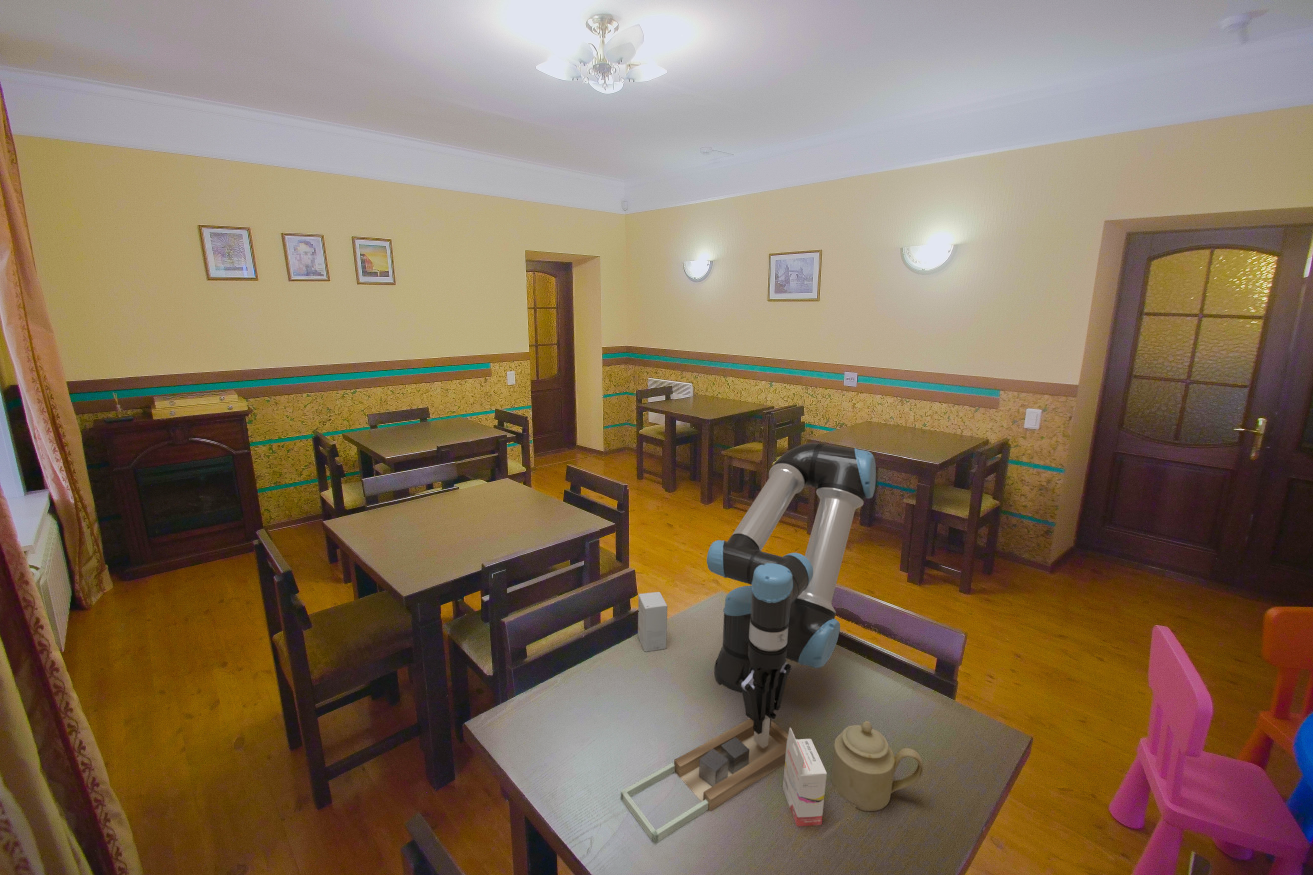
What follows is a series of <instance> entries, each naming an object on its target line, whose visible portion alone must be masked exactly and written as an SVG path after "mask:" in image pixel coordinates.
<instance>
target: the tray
mask: <svg viewBox="0 0 1313 875" xmlns="http://www.w3.org/2000/svg"><path fill="white" fill-rule="evenodd" d="M674 773H675V765H674V762H671V763H669V764H667V765H666V766H663V767H662V768H661V769H658V770H657V771H655V772H653V773H652V774H649V775H648V776H646V777H644V778H642V779H640V780H638V781H636V783H635V782H634V783H633V784H631V785H630V786H628V787H626V788H624V789H622V790H620V800H621V801H622V802H623V804H624V805H625V807H627V808H628V810H629V811H630V813H631V814H632V815H633V816H634V818H635V820H636V821H637V822H638V824H639V826H641V828H642V829H643V830H644V832H645V833H646V835H647V836H648V837H649V839H650V840H651V841H652V843H653V844H654V845H655V844H657V843H658V842H660V841H661V840H662V839H664V838H666V837H667V836H669V835H670V834H672V833H673V832H675V831H677V830H678V829H680V828H682V827H683V826H685V825H686V824H687V823H689V822H691V821H693V820H694V819H695V818H697V817H698V816H700V815H702V814H703V813H705V812H707V811H709V810H708V804H709V802H708V801H707V800H706V799H705V800H704V801H702V802H701V801H700V802H699V803H697V804H695V805H694V806H693V807H691V808H690V809H688V810H686V811H685V812H683V813H681V814H679V815H678V816H677V817H675V818H673V819H672V820H670V821H669V822H666V824H664V825H662V826H660V827H659V828H657V829H655V827H654V826H653V825H652V823H650V821H649V820H648V818H647V816H645V814H644V813H643V812H642V810H641V809H640V808H639V806H638V805H637V804H636V803H635V801H634V800H633V799H632V797H633V796H634V795H637V794H638V793H640V792H642V791H644V790H645V789H648V788H649V787H651V786H652V785H655V784H656V783H658V782H660V781H661V780H663V779H665V778H667V777H669V776H670V775H672V774H674Z"/></svg>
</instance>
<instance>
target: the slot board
mask: <svg viewBox="0 0 1313 875" xmlns="http://www.w3.org/2000/svg"><path fill="white" fill-rule="evenodd" d="M788 734H789V733H788V732H787V731H786V730H784V729H782V728H781V727H780V726H779V725H778V724H776V723H775V722H774V721H773V720H771V726H770V728H769V741H768V746H766V747H765V748H762V747H761V746H760V745H758V744H757V743H756V742H755V741H754V730H753V721H752V720H751V719H750V718H748V719H747V720H744V721H743V722H741V723H740V724H737V725H736V726H734V727H732V728H730V729H728V730H726V731H724V732H722V733H721V734H719V735H717V736H715V737H713V738H712V739H710V740H708V741H706V742H704V743H703V744H701V745H699V746H697V747H695V748H693V749H691V750H690V751H688V752H687V753H685V754H683V755H680V756H679V757H677V758H676V759H674V761H673V764H674V765H675V772H674V773H675V775H677V777H679V779H680V780H681V781H682V783H684V784H685V785H686V786H687V788H689V790H690V791H691V792H692V793H693V794H694V795H695V796H696V798H698V800H699V801H700V803H701V802H702V801H704V800H705V799H706V800H707V801H708V802H709V804H708V810H707V811H709V812H712V810H714V809H717V808H718V807H719V806H721V805H722V804H724V803H725V802H727V801H729V800H730V799H731V798H733V797H735V796H736V795H737V794H738V795H739V794H740V793H741V792H743V791H744V790H746V789H747V788H749V787H750V786H752V785H753V784H755V783H757V781H759V780H761V779H762V778H764V777H765V776H767V775H769V774H771V773H772V772H774V771H775V770H777V769H778V768H779V767H782V766H783V765H785V757H786V745H787V739H788ZM735 737H736V738H737V739H738V740H739V741H741V742H742V743H743V744H744V745H745V746H746V747H747V748H748V749H749V764H748V765H747V766H745V767H744V768H742V769H740V770H739V771H737V772H735V773H734V774H731V773H730V772H729V771H728V777H727V778H726V779H724V780H722V781H721V782H719V783H717V784H716V785H714V786H713V787H712V786H710V785H709V784H708V783H706V782H705V781H704V780H702V779H701V778H700V777H699V760H700V759H701V758H702V757H703V756H704V755H705V754H707V753H708V752H709V751H710V750H711V749H714V750H716V751H717V752H718V753H720V752H721V745H722V744H724V743H726V742H728V741H730V740H731V739H733V738H735Z"/></svg>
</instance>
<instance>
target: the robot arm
mask: <svg viewBox="0 0 1313 875" xmlns="http://www.w3.org/2000/svg"><path fill="white" fill-rule="evenodd" d="M876 465H877V464H876V458H875V456H874V455H873V453H872V452H870V451H868V450H864V449H858V448H857V447H854V448H853V447H844V446H839V445H831V444H823V443H819V442H807V443H804V444H801V445H798V446H795V447H794V448H791V449H790V450H788V451H787V452H784V454H782V455H781V456H780V457H779V458H778V459H777V460H776V461H775V462H774V463H773V464H772V466H771V468H770V469H769V472H768V479H767V481H766V482H765V484H764V486H763V487H762V489H761V490H760V491H759V492H758V495H757V496H756V497H755V499H754V500H753V502H752V504H751V505H750V507H749V508H748V509H747V511H746V513H745V515H744V516H743V518H742V519H741V520H740V521H739V524H738V525H737V527H736V528H735V529H734V530H733V533H732V535H730V537H729V538H728V540H720V539H717V540H715V541H713V542H712V543H711V544H710V547H709V549H708V552H707V555H706V564H707V569H708V570H709V571H710V572H711V573H713V574H715V575H717V576H720V577H723V578H725V579H727V578H728V579H731V580H734V581H738V582H741V583H744V584H747V585H743V586H738V587H735V588H734V589H732V590H730V591H729V592H728V593H727V594H726V597H725V601H724V607H723V628H722V631H723V632H722V646H721V648H720V650H719V653H718V655H717V657H716V661H715V663H714V670H713V672H714V673H713V675H714V679H715V681H716V682H717V683H718V685H719V686H720V685H723V687H725V688H727V689H729V690H731V691H734V692H737V693H742V698H743V705H744V710H745V716H746V717H748V719H751V720H752V721H753V730H754V741H755V742H756V743H757V744H758V745H760V746H761V747H762V748H765V747H766V746H768V741H769V728H770V726H771V721H772V720H774V719H776V717H777V714H776V713H775V711H778V710H780V708H781V704H782V700H783V696H784V693H785V689H786V685H787V679H788V676H789V674H790V672H791V670H792V665H791V664H789V663H788V662H787V660H790V661H793V662H796V663H798V664H799V665H804V666H808V667H809V668H810V667H811V668H813V669H820V668H822V667H823V666H825V665H826V664H827V663H828V661H829V660H830V658H831V657H832V655H833V652H834V651H835V648H836V645H837V642H838V638H839V636H840V635H839V634H840V630H841V623H840V621H838V619H836V618H835V617H836V614H837V611H836V610H835V608H834V607H833V605H832V601H833V597H834V595H835V594H834V592H835V590H836V585H837V582H838V577H839V573H840V571H841V566H842V563H843V558H844V554H845V551H846V548H847V547H846V546H847V543H848V539H849V537H850V536H849V535H850V531H851V527H852V523H853V520H854V516H855V515H854V514H855V511H856V509H859V508H861V507H863V505H864V503H865V500H866V499H872V498H874V497H873V496H874V494H875V491H876V479H877V477H876V476H877V472H876V471H877V468H876V467H877V466H876ZM807 487H810V488H814V489H815V488H816V491H815V493H816V495H817V497H818V499H819V504H818V507H817V511H816V514H815V518H814V523H813V524H812V529H811V532H810V535H809V540H808V543H807V547H806V551H805V554H804V555H803V554H801V553H798V552H790V553H787V554H785V555H783V556H780V555H776V554H773V553H769V552H765V551H762V550H763V549H764V547H765V545H766V544H767V541H768V540H769V538H770V537H771V535H772V533H773V531H774V530H775V529H776V526H777V525H778V523H779V521H780V520H781V518H782V517H783V515H784V513H785V512H786V510H787V508H788V507H789V505H790V503H791V502H792V500H793V499H794V497H795V495H796V494H799V493H801V492H802V491H803V489H804V488H807Z"/></svg>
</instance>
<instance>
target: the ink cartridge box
mask: <svg viewBox="0 0 1313 875" xmlns="http://www.w3.org/2000/svg"><path fill="white" fill-rule="evenodd" d="M787 734H788V739H787V745H786V757H785V763H784V771H783V782H782V790H783V793H784V796H785V798H786V801H787V804H788V807H789V809H790V812H791V814H792V817H793V819H794V822H795V826H796V827H807V826H809V827H810V826H820V825H821V826H822V823H823V815H824V814H823V813H824V805H825V804H824V803H825V793H826V783H827V775H828V774H827V773H828V772H827V771H826V768H825V766H824V764H823V761H822V760H821V757H820V755H819V753H818V751H817V749H816V746H815V745H814V742H813V740H812V738H802V739H801V738H800V739H798V738H796V737H795V736H796V735H795V734H794V731H793V730H792V727H790V726H789V729H788V733H787Z"/></svg>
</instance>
